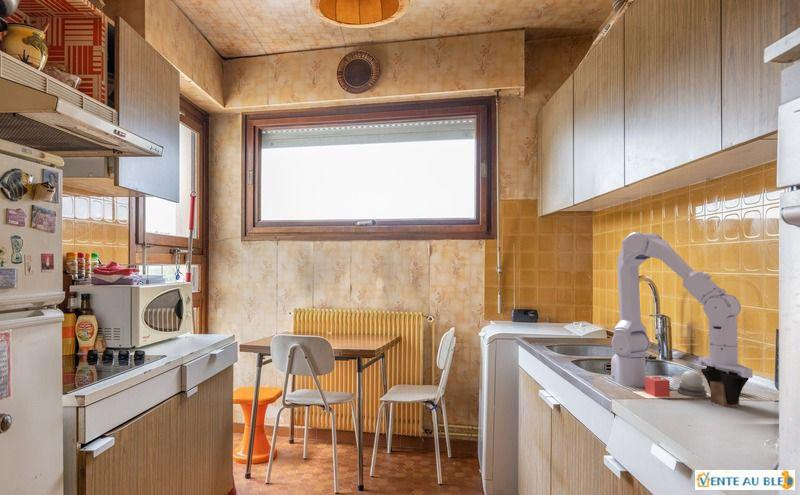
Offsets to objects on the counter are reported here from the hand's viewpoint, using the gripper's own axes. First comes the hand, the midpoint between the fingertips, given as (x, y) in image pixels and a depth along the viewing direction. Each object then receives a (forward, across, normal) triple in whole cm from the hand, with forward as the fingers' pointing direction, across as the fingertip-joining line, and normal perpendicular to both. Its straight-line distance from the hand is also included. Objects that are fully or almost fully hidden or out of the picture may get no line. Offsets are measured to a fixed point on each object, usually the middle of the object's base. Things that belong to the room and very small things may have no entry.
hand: (724, 401), depth 112 cm
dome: (-1, -9, -1) cm, 9 cm away
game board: (+2, -4, -6) cm, 8 cm away
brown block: (+2, 0, 0) cm, 2 cm away
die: (+1, -9, -11) cm, 14 cm away
